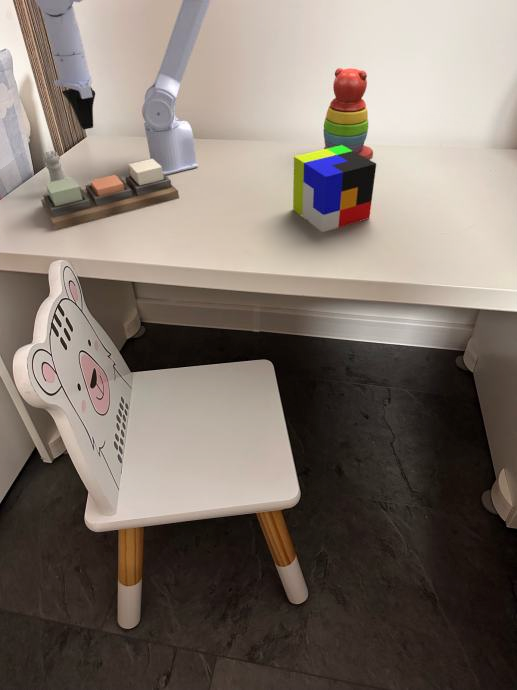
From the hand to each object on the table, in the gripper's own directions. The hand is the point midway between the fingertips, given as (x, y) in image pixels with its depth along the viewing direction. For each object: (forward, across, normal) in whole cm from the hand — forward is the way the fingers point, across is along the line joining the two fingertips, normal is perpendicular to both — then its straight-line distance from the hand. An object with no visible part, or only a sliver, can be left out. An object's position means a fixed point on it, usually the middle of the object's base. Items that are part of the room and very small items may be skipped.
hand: (87, 127), depth 102 cm
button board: (+9, +16, -2) cm, 19 cm away
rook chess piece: (+10, +6, -9) cm, 15 cm away
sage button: (+6, +16, -10) cm, 20 cm away
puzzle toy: (+10, +43, +31) cm, 54 cm away
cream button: (+6, +16, +6) cm, 18 cm away
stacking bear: (+10, +23, +49) cm, 55 cm away
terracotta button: (+8, +16, -2) cm, 18 cm away
